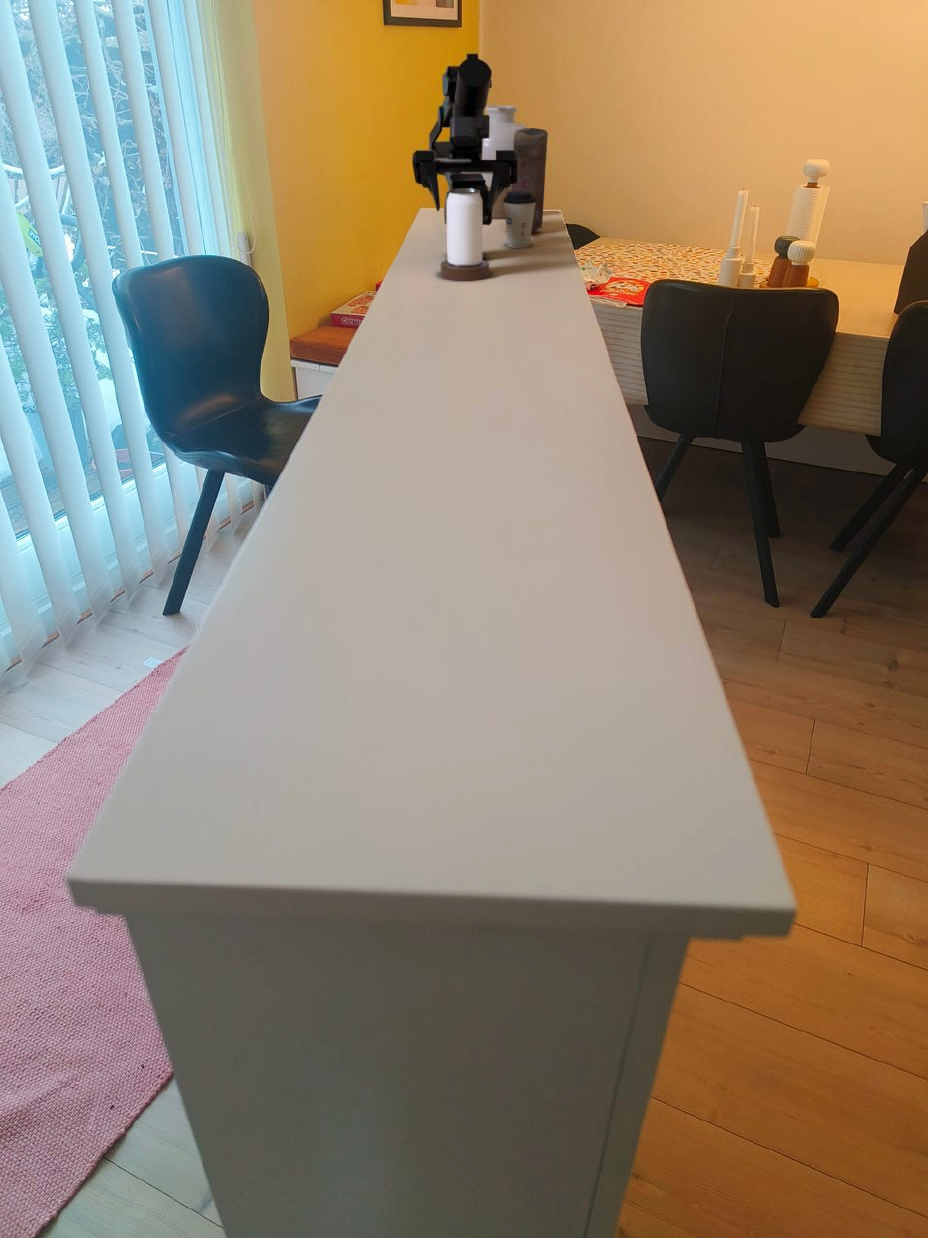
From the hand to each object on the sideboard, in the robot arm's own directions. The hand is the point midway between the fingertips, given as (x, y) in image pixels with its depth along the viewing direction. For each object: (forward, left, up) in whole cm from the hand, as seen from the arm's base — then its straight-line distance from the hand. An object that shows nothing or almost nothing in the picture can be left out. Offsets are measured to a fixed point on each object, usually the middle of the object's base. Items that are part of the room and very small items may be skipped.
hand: (463, 209), depth 145 cm
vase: (-61, +15, -11) cm, 64 cm away
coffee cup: (-25, +14, -11) cm, 31 cm away
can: (-1, 0, -9) cm, 9 cm away
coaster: (-1, 0, -11) cm, 11 cm away
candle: (-39, +18, -11) cm, 44 cm away
